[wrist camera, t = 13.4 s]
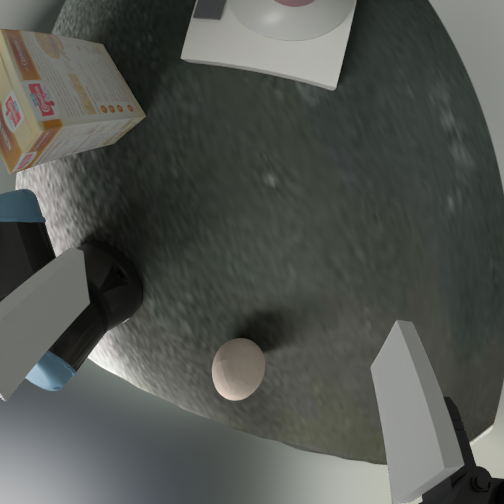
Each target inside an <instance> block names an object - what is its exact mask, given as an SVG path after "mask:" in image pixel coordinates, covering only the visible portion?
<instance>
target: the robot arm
mask: <svg viewBox="0 0 504 504" xmlns="http://www.w3.org/2000/svg"><path fill="white" fill-rule="evenodd" d="M45 222H46V220H45V218H44V217H43V216H42V213H41V210H40V207H39V204H38V200H37V197H36V195H35V194H34V193H33V192H32V191H31V190H28V189H20V190H15V191H11V192H7V193H3V194H0V398H1V399H3V400H4V401H5V402H6V401H7V400H8V399H9V397H10V396H11V395H12V393H13V392H14V391H15V390H16V388H17V387H18V386H19V385H20V383H21V382H22V381H23V379H24V378H26V379H28V380H29V381H30V382H32V383H34V384H35V385H37V386H39V387H41V388H43V389H46V390H50V391H57V390H60V389H61V388H63V387H64V385H65V384H66V383H67V382H68V381H69V380H70V379H71V377H73V376H74V375H75V374H76V372H77V370H78V369H79V368H80V366H81V365H82V364H83V362H84V361H85V359H86V358H87V357H88V355H89V354H90V353H91V351H92V350H93V349H94V347H95V346H96V345H97V343H98V342H99V341H100V339H101V338H102V337H103V336H104V334H105V333H106V332H107V331H109V330H110V329H112V328H114V327H116V326H117V325H119V324H121V323H123V322H125V321H127V320H129V319H130V318H131V317H132V316H133V315H134V313H135V312H136V311H137V310H138V308H139V307H140V304H141V301H142V286H141V282H140V279H139V277H138V274H137V272H136V270H135V269H134V267H133V266H132V264H131V263H130V261H129V260H128V259H127V258H126V257H125V256H124V255H123V254H122V253H121V252H120V251H118V250H117V249H116V248H114V247H112V246H111V245H109V244H106V243H103V242H99V241H90V242H86V243H84V244H83V245H81V246H80V247H78V248H77V249H74V248H71V247H70V248H69V249H67V250H66V251H65V252H63V253H62V254H61V255H59V256H58V257H56V256H55V253H54V250H53V247H52V244H51V241H50V238H49V235H48V232H47V229H46V225H45ZM371 372H372V377H373V382H374V386H375V391H376V397H377V402H378V407H379V413H380V418H381V424H382V430H383V436H384V443H385V449H386V456H387V464H388V471H389V480H390V489H391V499H392V504H398V503H406V502H411V501H413V500H415V499H416V498H418V497H420V496H421V495H422V499H423V501H422V502H421V503H419V504H504V479H499V478H492V477H491V475H490V473H489V472H488V471H487V470H486V469H485V468H483V467H480V466H476V463H475V461H474V457H473V454H472V450H471V447H470V444H469V441H468V437H467V434H466V431H464V425H463V423H462V421H461V417H460V414H459V411H458V409H457V407H456V405H455V404H454V403H453V401H452V400H451V399H450V397H443V395H442V393H441V390H440V387H439V385H438V382H437V379H436V377H435V374H434V372H433V369H432V367H431V364H430V362H429V359H428V357H427V355H426V352H425V350H424V348H423V345H422V343H421V341H420V338H419V336H418V334H417V332H416V329H415V327H414V325H413V323H412V322H408V321H402V320H396V322H395V324H394V326H393V328H392V330H391V332H390V333H389V335H388V337H387V339H386V341H385V343H384V345H383V346H382V348H381V350H380V352H379V354H378V355H377V357H376V359H375V361H374V362H373V364H372V366H371Z"/></svg>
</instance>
